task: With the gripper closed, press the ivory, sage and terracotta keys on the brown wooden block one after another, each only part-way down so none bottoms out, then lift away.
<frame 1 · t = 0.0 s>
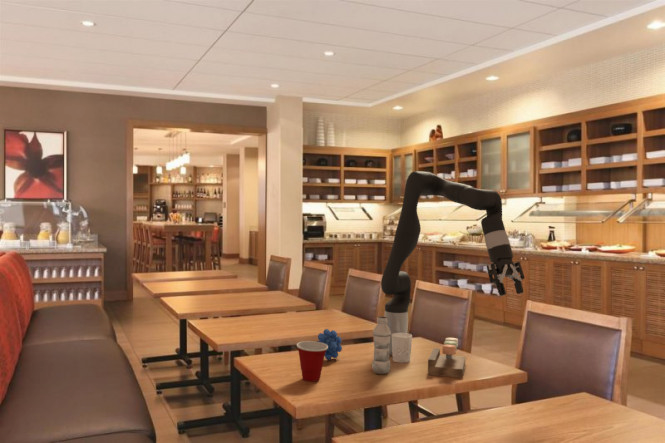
hand: (511, 294, 187), 31 cm above the table, tool tilted 20°, fingers open, 8 cm apart
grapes: (330, 360, 222), on the table
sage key: (450, 348, 211), point 8 cm above the table, slide at 0.0 cm
ivory key: (451, 344, 217), point 8 cm above the table, slide at 0.0 cm
plastic cup: (311, 380, 197), on the table
white cup: (401, 361, 224), on the table
plastic bottle: (381, 373, 205), on the table
brown wooden block: (447, 369, 212), on the table
terracotta key: (449, 352, 206), point 8 cm above the table, slide at 0.0 cm
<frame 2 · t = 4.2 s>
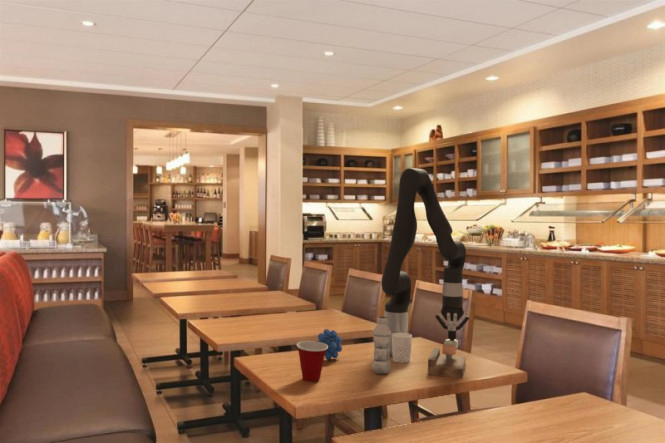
hand: (451, 340, 217), 10 cm above the table, tool pointing down, fingers closed
ivory key: (451, 346, 217), point 7 cm above the table, slide at 0.5 cm, touching gripper
everything else where it was.
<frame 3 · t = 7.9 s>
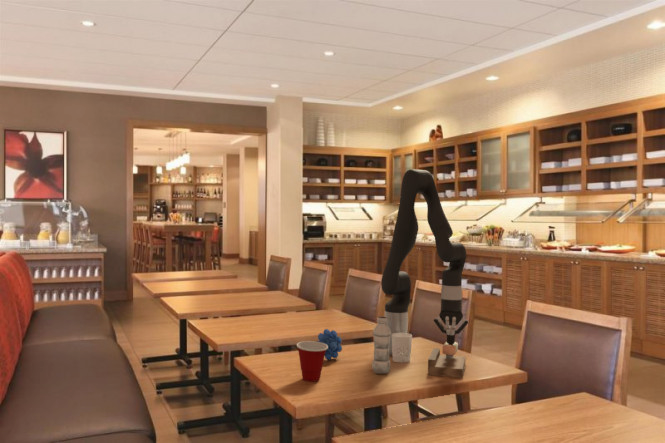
hand: (450, 344, 211), 9 cm above the table, tool pointing down, fingers closed
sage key: (450, 350, 211), point 7 cm above the table, slide at 0.8 cm, touching gripper
ivory key: (451, 348, 217), point 6 cm above the table, slide at 1.5 cm
everything else where it was.
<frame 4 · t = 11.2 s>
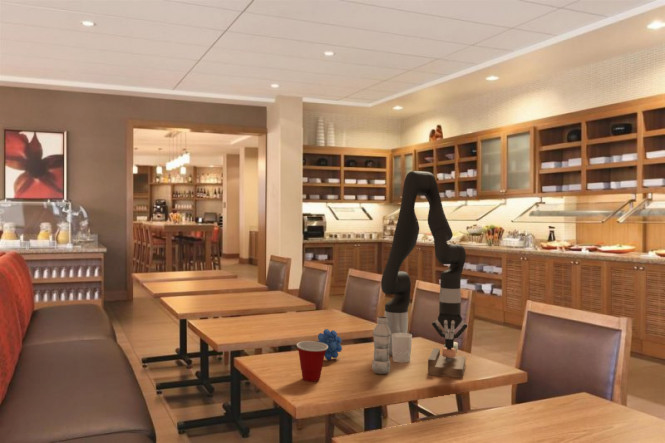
hand: (449, 349, 206), 9 cm above the table, tool pointing down, fingers closed
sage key: (450, 351, 211), point 7 cm above the table, slide at 1.0 cm
terracotta key: (449, 355, 206), point 7 cm above the table, slide at 1.0 cm, touching gripper
everything else where it was.
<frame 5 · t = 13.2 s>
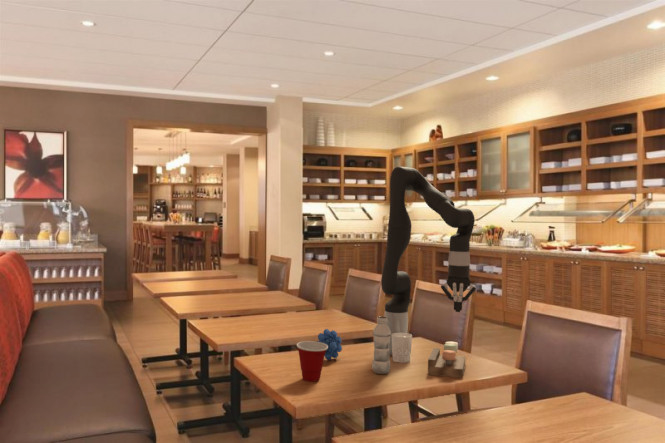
hand: (457, 311, 209), 22 cm above the table, tool pointing down, fingers closed
terracotta key: (448, 357, 206), point 6 cm above the table, slide at 2.0 cm
everything else where it was.
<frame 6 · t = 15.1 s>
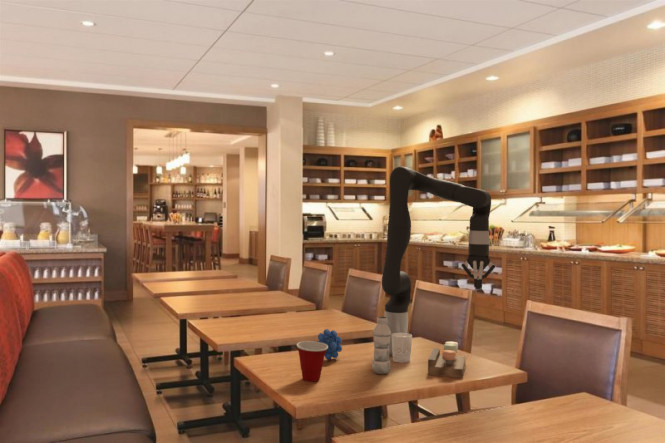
hand: (477, 288, 217), 29 cm above the table, tool pointing down, fingers closed
nothing on the table moved.
at the end: ivory key slide at 1.5 cm; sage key slide at 1.0 cm; terracotta key slide at 2.0 cm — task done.
